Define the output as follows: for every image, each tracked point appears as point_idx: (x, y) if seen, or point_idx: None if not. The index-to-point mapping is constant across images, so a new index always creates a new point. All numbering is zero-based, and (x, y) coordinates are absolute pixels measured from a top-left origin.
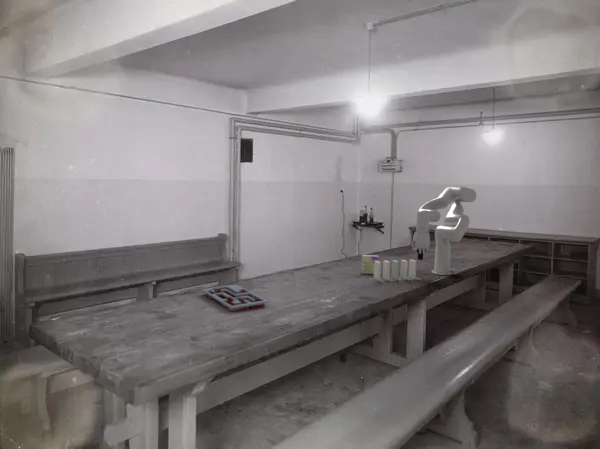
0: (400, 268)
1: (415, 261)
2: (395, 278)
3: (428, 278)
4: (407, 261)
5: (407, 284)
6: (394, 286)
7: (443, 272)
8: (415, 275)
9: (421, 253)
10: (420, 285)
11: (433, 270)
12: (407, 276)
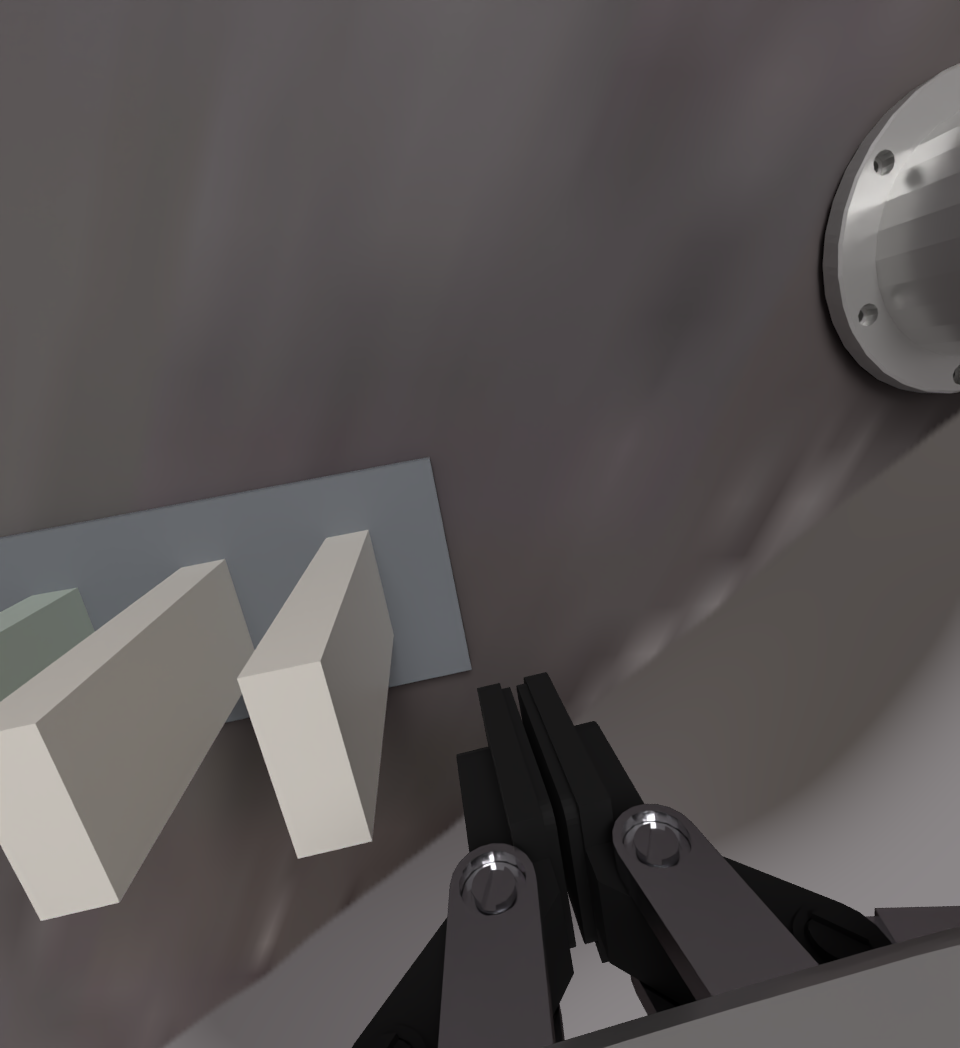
0: (101, 627)
1: (349, 838)
2: None
3: (601, 563)
4: (115, 901)
5: (217, 847)
6: (31, 935)
7: (946, 353)
8: (391, 656)
9: (594, 912)
10: (363, 872)
11: (895, 158)
12: (316, 516)
